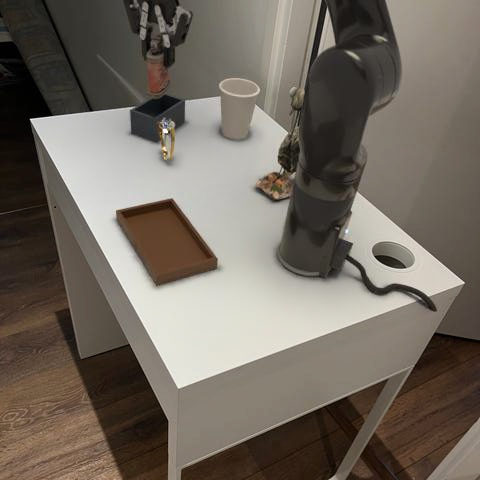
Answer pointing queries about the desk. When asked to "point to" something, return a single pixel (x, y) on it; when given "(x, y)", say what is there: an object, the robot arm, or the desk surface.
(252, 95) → the dixie cup
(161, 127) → the ring
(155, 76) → the lighter
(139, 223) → the tray
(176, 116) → the box
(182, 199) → the desk surface
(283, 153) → the plant with pod
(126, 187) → the desk surface
